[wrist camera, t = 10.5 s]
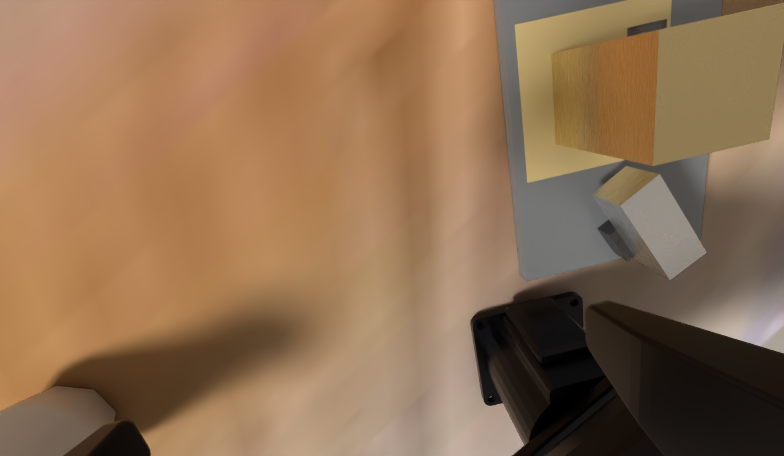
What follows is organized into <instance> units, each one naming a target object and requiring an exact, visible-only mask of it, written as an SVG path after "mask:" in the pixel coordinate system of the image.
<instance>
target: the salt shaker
mask: <svg viewBox="0 0 784 456" xmlns="http://www.w3.org/2000/svg"><path fill="white" fill-rule="evenodd" d="M115 414H116V411H115V410H114V409H113V408H112V407H111V406H110V405H109V404H108V403H107V402H106V401H105V400H104V399H103V398H102V397H101V396H100V395H99V394H98V393H97V392H96V391H95V390H93V389H83V388H73V387H64V386H55V387H52V388H50V389H48V390H46V391H43V392H41V393H39V394H36V395H34V396H32V397H30V398H27V399H25V400H23V401H20V402H18V403H16V404H14V405H12V406H10V407H8V408H6V409H4V410H2V411H0V456H63V455H65V454H66V453H67V452H69V451H70V450H71V449H73V448H74V447H75V446H76V445H78V444H79V443H80V442H82V441H83V440H84V439H86V438H87V437H88V436H90V435H91V434H92V433H94V432H95V431H96V430H98V429H99V428H100V427H102V426H103V425H105V424H108V423H111V422H114V418H115Z"/></svg>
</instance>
